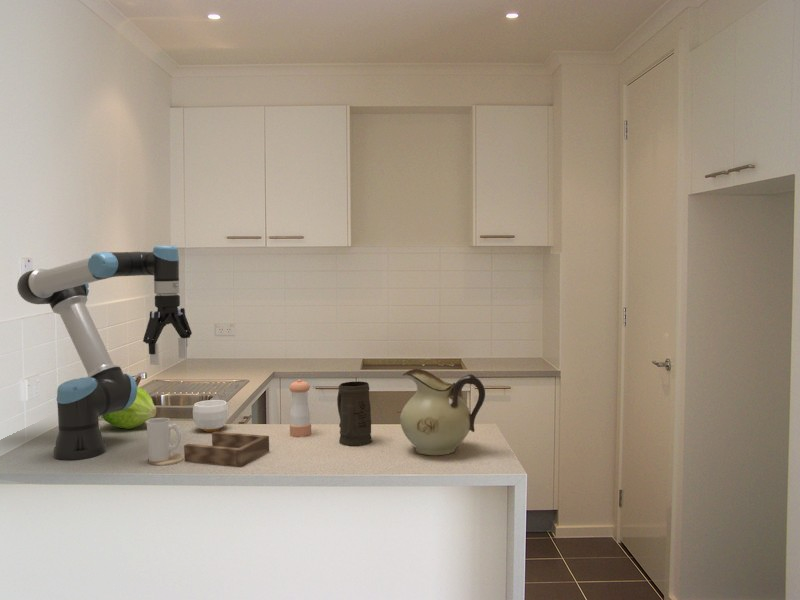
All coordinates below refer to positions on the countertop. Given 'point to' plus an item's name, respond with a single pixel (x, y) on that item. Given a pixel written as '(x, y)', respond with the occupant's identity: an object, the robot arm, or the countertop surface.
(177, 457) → the coaster
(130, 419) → the lettuce
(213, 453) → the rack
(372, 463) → the countertop surface
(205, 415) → the white bowl
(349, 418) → the beer stein
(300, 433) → the salt shaker
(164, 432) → the mug
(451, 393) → the pitcher
